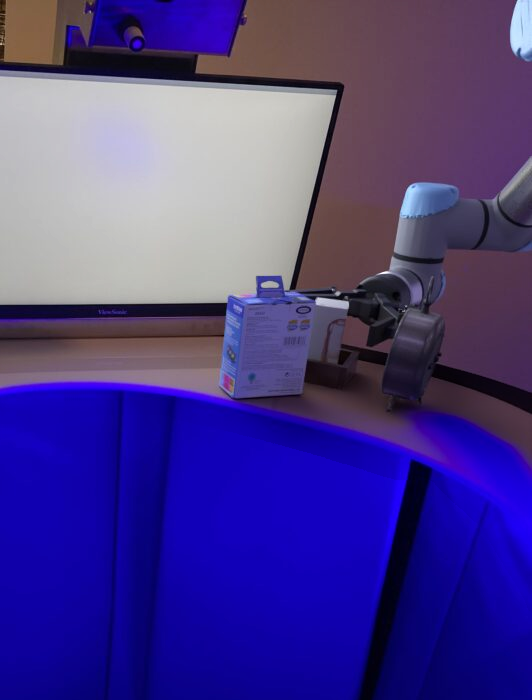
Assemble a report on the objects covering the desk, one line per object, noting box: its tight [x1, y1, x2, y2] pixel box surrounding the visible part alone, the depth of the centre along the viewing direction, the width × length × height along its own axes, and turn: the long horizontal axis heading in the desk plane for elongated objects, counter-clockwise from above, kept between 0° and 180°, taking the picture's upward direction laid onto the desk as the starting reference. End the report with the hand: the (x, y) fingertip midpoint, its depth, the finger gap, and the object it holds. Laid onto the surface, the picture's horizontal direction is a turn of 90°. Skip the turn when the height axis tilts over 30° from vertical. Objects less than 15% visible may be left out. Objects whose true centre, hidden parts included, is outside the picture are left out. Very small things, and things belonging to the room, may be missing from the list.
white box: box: [307, 297, 349, 364], centre depth 114 cm, size 5×4×10 cm
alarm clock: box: [380, 276, 446, 413], centre depth 103 cm, size 11×5×16 cm, turn 149°
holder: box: [304, 347, 360, 390], centre depth 115 cm, size 8×8×3 cm
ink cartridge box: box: [218, 275, 316, 399], centre depth 106 cm, size 10×6×14 cm, turn 106°
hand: (321, 324), depth 111 cm, fingers open, 13 cm apart
